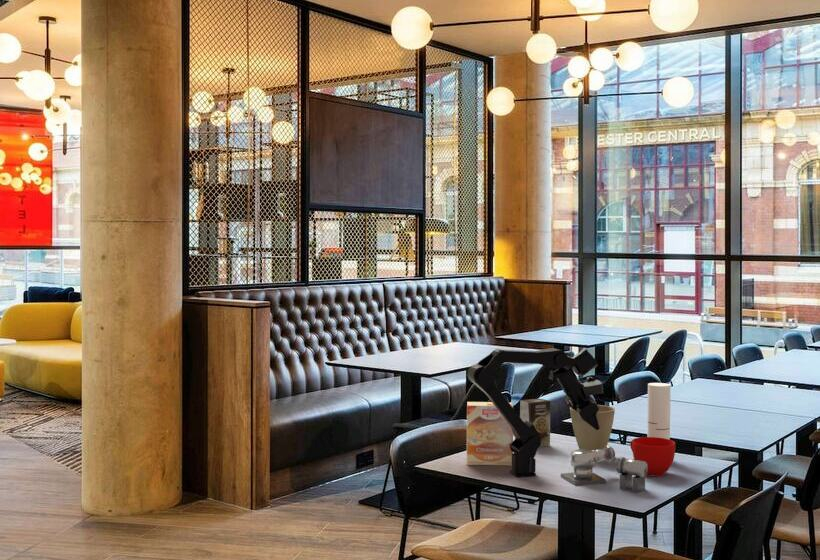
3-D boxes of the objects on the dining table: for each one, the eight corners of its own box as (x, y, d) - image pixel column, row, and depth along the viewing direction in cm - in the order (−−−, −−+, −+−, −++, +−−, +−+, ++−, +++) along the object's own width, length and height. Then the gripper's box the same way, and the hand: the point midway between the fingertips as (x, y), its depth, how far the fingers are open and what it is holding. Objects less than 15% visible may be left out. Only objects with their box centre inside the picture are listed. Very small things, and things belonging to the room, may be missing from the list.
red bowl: (647, 463, 285) (647, 433, 285) (684, 476, 270) (684, 443, 270) (615, 468, 280) (615, 436, 279) (650, 480, 265) (651, 448, 264)
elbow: (583, 470, 261) (583, 455, 260) (565, 465, 267) (566, 450, 266) (618, 462, 269) (618, 448, 269) (600, 458, 275) (600, 444, 275)
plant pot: (612, 450, 304) (613, 404, 303) (616, 461, 289) (616, 412, 288) (568, 449, 306) (569, 403, 305) (570, 459, 291) (570, 411, 290)
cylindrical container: (652, 456, 295) (653, 382, 294) (673, 459, 291) (673, 384, 290) (643, 460, 290) (644, 384, 289) (664, 463, 285) (665, 386, 284)
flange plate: (575, 485, 260) (575, 471, 260) (560, 476, 269) (560, 463, 269) (605, 482, 262) (606, 469, 262) (590, 474, 272) (590, 461, 272)
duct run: (616, 488, 256) (616, 458, 256) (623, 485, 260) (624, 455, 260) (640, 493, 251) (640, 462, 251) (647, 489, 255) (648, 459, 255)
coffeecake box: (466, 465, 284) (466, 405, 283) (466, 459, 291) (466, 401, 290) (513, 465, 283) (513, 405, 282) (512, 460, 290) (512, 401, 289)
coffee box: (530, 448, 306) (530, 402, 306) (519, 445, 312) (519, 399, 311) (550, 445, 311) (551, 400, 310) (539, 442, 316) (540, 397, 316)
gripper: (601, 378, 266) (625, 420, 268) (584, 363, 284) (607, 403, 287) (569, 397, 266) (594, 439, 268) (554, 381, 284) (577, 421, 287)
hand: (594, 425), depth 278 cm, fingers open, 9 cm apart
